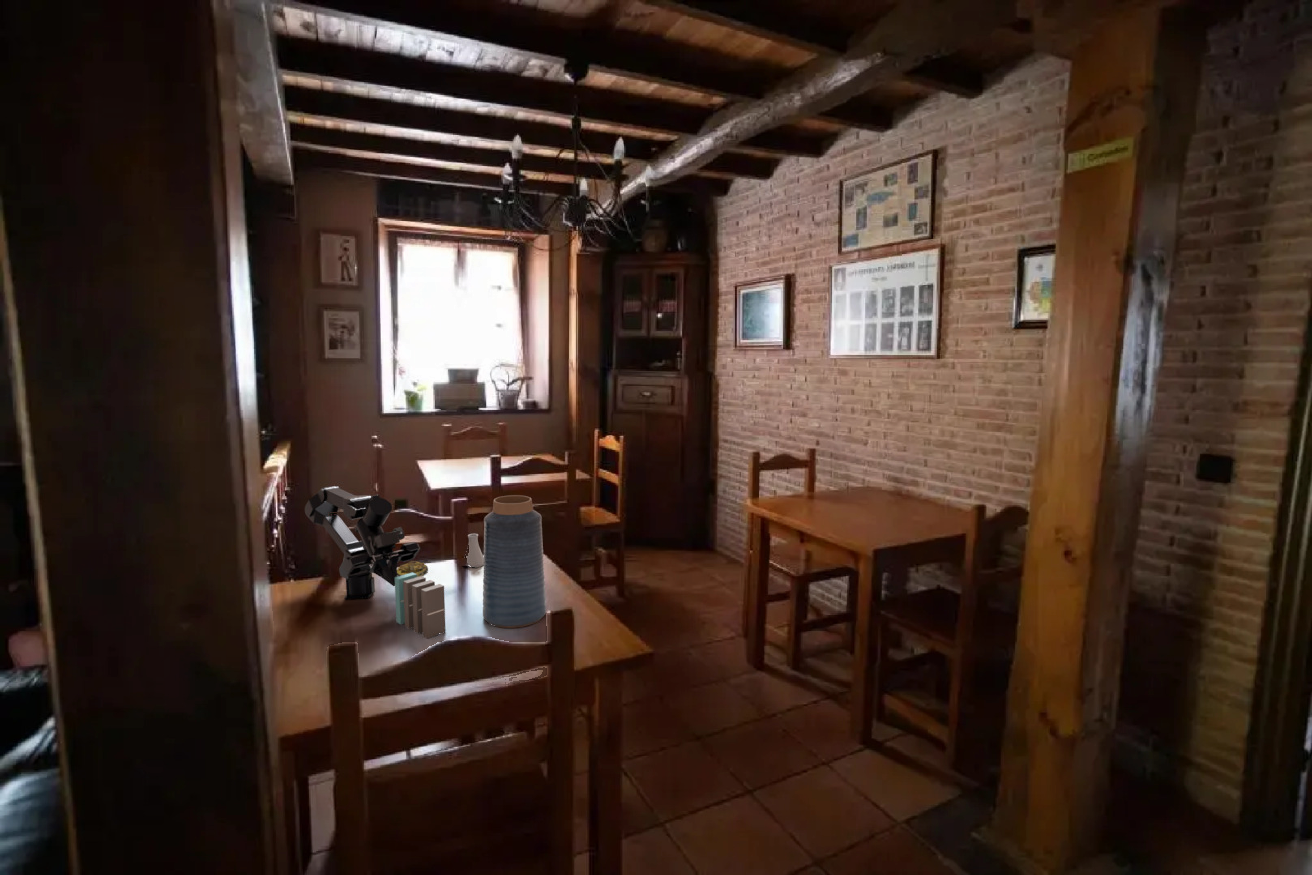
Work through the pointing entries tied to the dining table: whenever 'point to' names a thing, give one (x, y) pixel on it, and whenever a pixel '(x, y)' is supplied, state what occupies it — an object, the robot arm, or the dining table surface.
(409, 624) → the domino
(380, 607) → the dining table surface
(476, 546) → the flask
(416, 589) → the domino
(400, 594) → the teal domino
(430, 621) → the domino
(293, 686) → the dining table surface
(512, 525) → the vase
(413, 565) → the seal
